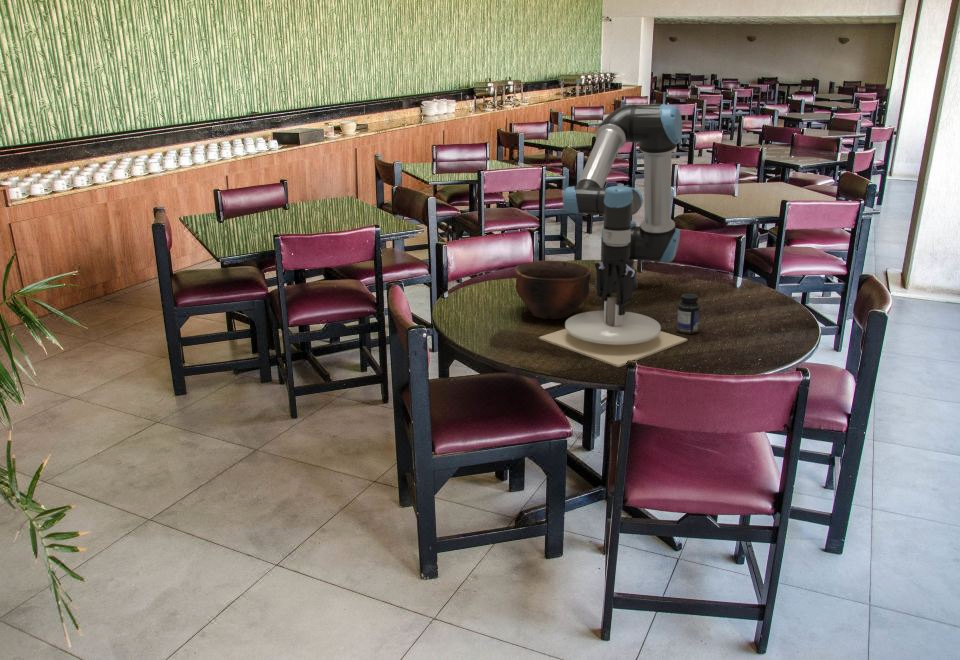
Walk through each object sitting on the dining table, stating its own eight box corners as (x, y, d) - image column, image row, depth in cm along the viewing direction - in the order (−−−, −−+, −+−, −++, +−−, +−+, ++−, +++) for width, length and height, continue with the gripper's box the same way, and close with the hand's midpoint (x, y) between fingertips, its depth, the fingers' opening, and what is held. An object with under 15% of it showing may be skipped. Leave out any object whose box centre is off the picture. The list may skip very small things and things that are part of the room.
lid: (545, 328, 221) (546, 297, 218) (606, 308, 237) (607, 280, 234) (619, 351, 201) (620, 318, 198) (679, 329, 218) (681, 298, 215)
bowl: (606, 312, 246) (608, 266, 241) (560, 331, 228) (561, 283, 223) (545, 298, 261) (545, 255, 257) (498, 315, 244) (497, 269, 239)
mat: (538, 338, 223) (538, 337, 222) (607, 317, 241) (607, 315, 241) (618, 367, 201) (618, 365, 201) (687, 340, 219) (687, 338, 219)
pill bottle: (691, 327, 230) (694, 292, 227) (701, 333, 225) (704, 297, 221) (672, 329, 229) (675, 293, 225) (682, 335, 223) (684, 299, 220)
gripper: (585, 240, 215) (582, 319, 223) (631, 250, 203) (627, 333, 211) (602, 237, 220) (600, 314, 227) (648, 246, 208) (644, 327, 215)
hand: (613, 323), depth 219 cm, fingers closed on lid, 3 cm apart
